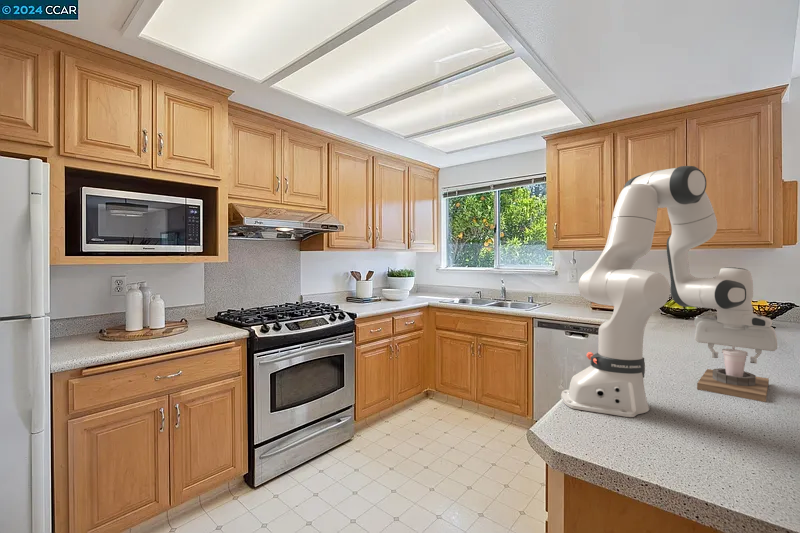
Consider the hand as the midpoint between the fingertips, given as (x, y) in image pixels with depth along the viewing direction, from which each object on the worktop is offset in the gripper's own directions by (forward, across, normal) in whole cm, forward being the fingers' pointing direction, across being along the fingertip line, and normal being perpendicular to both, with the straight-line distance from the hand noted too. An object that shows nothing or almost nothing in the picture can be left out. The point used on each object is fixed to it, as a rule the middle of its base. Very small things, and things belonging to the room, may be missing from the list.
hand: (733, 360), depth 126 cm
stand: (+9, 0, 0) cm, 9 cm away
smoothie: (+7, 0, 0) cm, 7 cm away
